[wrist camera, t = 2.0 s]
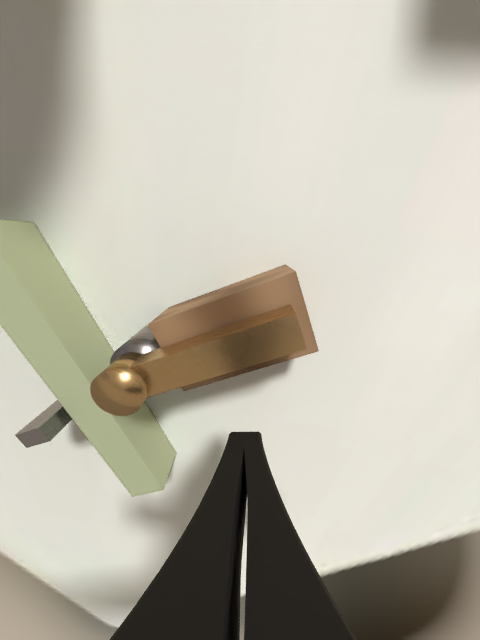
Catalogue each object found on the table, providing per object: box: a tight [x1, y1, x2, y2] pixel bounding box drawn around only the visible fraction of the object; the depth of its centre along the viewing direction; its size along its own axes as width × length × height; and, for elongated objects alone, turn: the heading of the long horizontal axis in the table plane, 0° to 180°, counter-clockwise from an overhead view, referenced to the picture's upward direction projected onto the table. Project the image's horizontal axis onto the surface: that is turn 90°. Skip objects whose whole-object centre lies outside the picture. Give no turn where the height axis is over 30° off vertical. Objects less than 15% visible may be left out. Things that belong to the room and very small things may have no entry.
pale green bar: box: [0, 219, 176, 497], centre depth 17 cm, size 3×22×3 cm, turn 20°
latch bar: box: [90, 304, 307, 416], centre depth 12 cm, size 12×3×2 cm, turn 110°
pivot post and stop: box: [15, 325, 160, 448], centre depth 16 cm, size 11×4×5 cm, turn 110°
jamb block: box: [148, 265, 318, 391], centre depth 15 cm, size 9×5×4 cm, turn 110°
